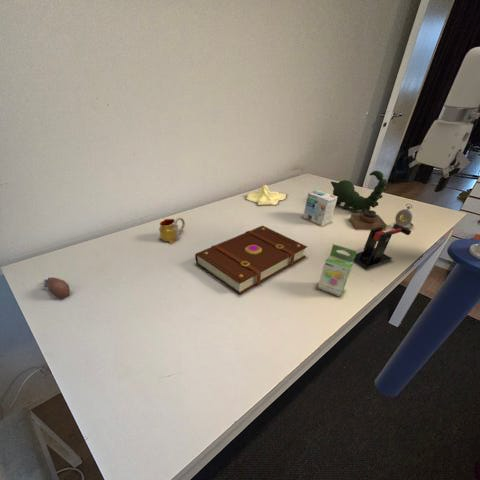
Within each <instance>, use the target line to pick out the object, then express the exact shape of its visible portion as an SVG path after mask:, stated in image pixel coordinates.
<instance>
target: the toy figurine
mask: <svg viewBox="0 0 480 480" xmlns="http://www.w3.org/2000/svg"><path fill="white" fill-rule="evenodd" d="M371 176H374V177H375V178H376V180H377V181H378V182H377V184H376V185H375V187H374V189H373V191H371V192H370V195H368V196H367V197H364V196H362V195H360V193H359V192H358V191H357V190H356V189H355V185H354V184H353V182H352V181H350V180H347V179H344V180H341V181H339V182H337V181H330V184H331V186H332V187H333V190H332V195H334V196H337V197H338V198H337V201H336V205H335V206H339V205H341V203H343V209H345V210H348V209H349V208H352V210H351V211H352V212H353V213H357V212H359V211H361V214H362V213H363V212H366V211H367V210H371V208H372V209H374V208H376V207H378V206H379V202H378V201H379V200H380V199H382V198H383V193H384V192H386V190H387V188H386V186H389V182H388V180H387V179H386V178H384V173H382V172H381V171H380V170H373V171H371V172H370V173H369V177H371Z"/></svg>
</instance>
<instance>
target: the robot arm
mask: <svg viewBox="0 0 480 480" xmlns="http://www.w3.org/2000/svg"><path fill="white" fill-rule="evenodd" d="M479 106H480V46H475V47H473V48H471V49H469V51H468V52H466V54H465V56H464V58H463V60H462V62H461V65H460V67H459V69H458V72H457V74H456V76H455V78H454V81H453V84H452V85H451V88H450V90H449V92H448V95H447V96H446V99H445V102H444V103H443V106H442V109H441V111H440V114H439V116H438V118H437V119H434V121H433V123H432V124H431V126H430V128H429V129H428V131H427V133H426V134H425V136H424V139H423V140H422V142H421V144H418V145H415V146H412V147H409V149H408V157H407V161H408V167H409V169H408V172H407V174H406V176H405V180H404V182H405V183H410V182H411V183H412V182H413V181H415V179H416V178H415V177H416V175H417V173H418V171H419V168H420V167H419V166H420V165H421V164H423V165H428V166H431V167H435V168H439V169H442V172H443V176H441V177H440V178H439V180H438V182H437V184H436V186H435V187H434V190H433V191H434V192H435V193H439V192H442V191H443V190H445V189H446V187H447V185H448V183H449V182H450V179H451V177H454V176H455V175H457V174H459V173H461V172H462V171H463V170H464V169H466V168H467V167H468V166H469V165H470V163H471V161H470V160H469V159H468V157H467V156H466V155H465V154H464V151H465V149H466V147H467V144H468V141H469V139H470V136H471V133H472V130H473V127H474V124H473V123H472V122H473V120H478V119H479V118H480V112H479ZM416 152H417V153H416ZM458 163H459V165H458V166H457V167H456V168H454V166H456V165H457V164H458ZM469 252H470V253H471V254H472V255H473V256H474V257H476V258H478V259H480V242H479V244H474V245H472V246H470V248H469Z"/></svg>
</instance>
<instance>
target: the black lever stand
mask: <svg viewBox="0 0 480 480" xmlns="http://www.w3.org/2000/svg"><path fill="white" fill-rule="evenodd" d="M382 229H383V228H382V227H377V228H374V229H371V230H369V231H370V232H369V234H368V237H367V239H366V242H365V245H364V247H363V250H362V251H361V252H357V253H356V256H355V258H354V261H353V263H355V264H357V265H358V266H360V267H361V268H363V269H365V270H367V271H368V270H370V269H373V268H376V267H379V266H381V265H384V264H387V263H389V262H391V261H392V259H393V258H392V257H391V256H389V255H388V254H385V251H386V249H387V247H388V244H389V242H390V241H391V238H392V236H393V235H394V234H393V233H392V232H388V231H387V232H388V233H384V234H381V236H380V238H379V241H376V240H374V239H373V238H374V235H375V233H376V232H378V231H383V230H382Z"/></svg>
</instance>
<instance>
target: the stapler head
mask: <svg viewBox="0 0 480 480" xmlns="http://www.w3.org/2000/svg"><path fill="white" fill-rule="evenodd" d="M388 232H392V233H393V234H392V235H395V234H398V233H401V234H404V235H406V236H410V235H411V233H412V230H411V229H407V228H404V227H402V226H400V225H398V224H396V223H395V224H393V226H392V230H387V231H384V230H382V231H378V232H376V233H375V235H374V238H373V239H374V240H376V241H377V242H378V241H379V238H380V236H381V234H384V233H388Z"/></svg>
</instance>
